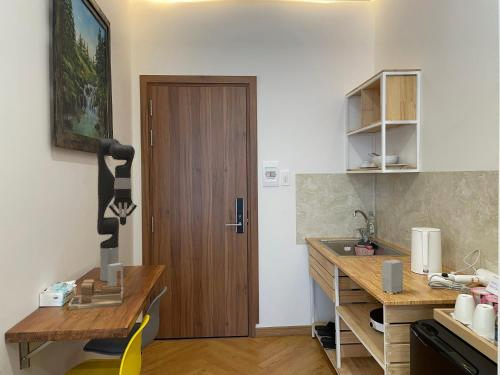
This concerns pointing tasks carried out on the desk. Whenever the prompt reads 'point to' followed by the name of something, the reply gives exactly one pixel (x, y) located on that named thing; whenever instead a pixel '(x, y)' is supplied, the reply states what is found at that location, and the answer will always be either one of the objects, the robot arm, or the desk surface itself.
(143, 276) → the desk surface
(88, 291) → the tunnel board
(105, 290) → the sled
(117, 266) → the skincare box
